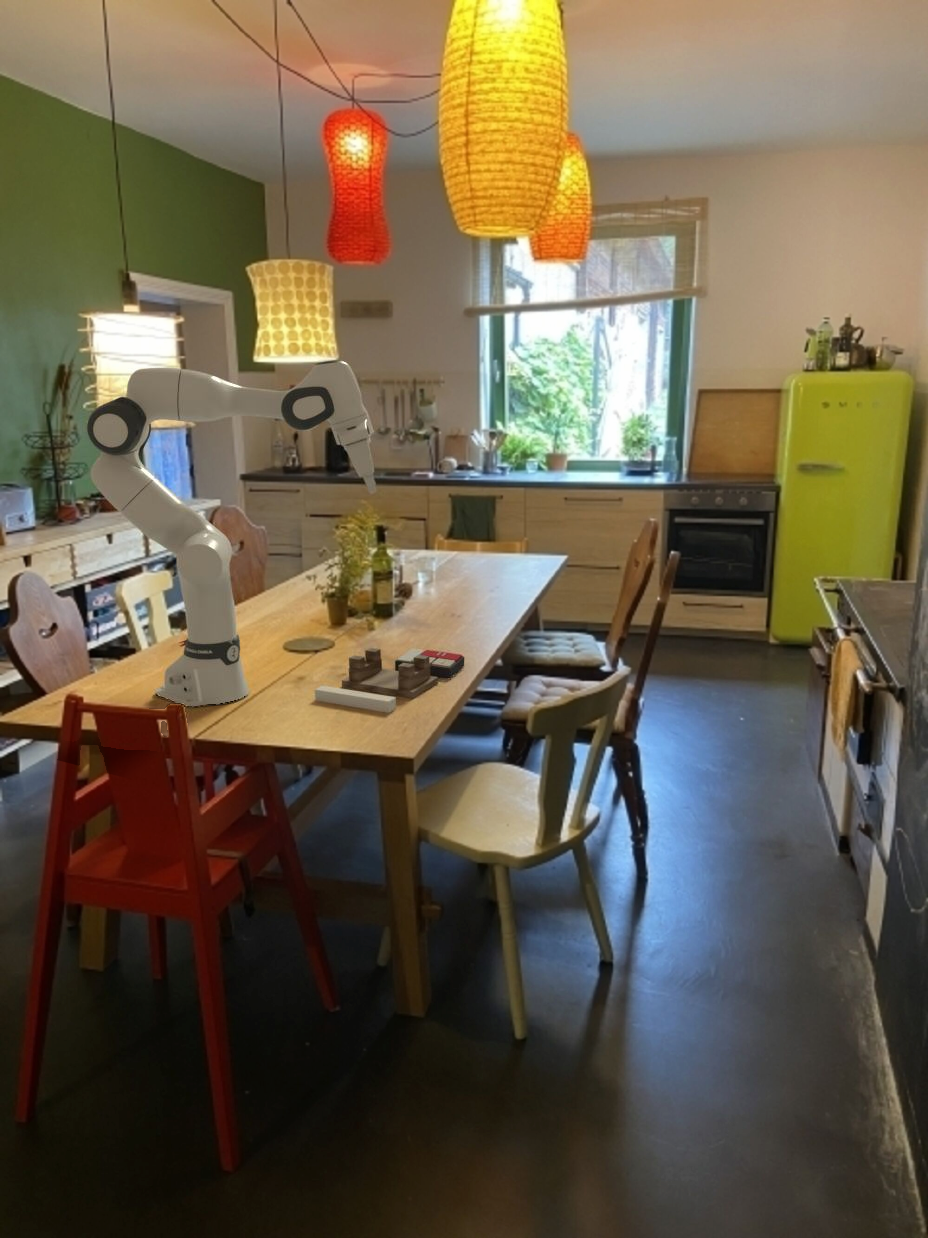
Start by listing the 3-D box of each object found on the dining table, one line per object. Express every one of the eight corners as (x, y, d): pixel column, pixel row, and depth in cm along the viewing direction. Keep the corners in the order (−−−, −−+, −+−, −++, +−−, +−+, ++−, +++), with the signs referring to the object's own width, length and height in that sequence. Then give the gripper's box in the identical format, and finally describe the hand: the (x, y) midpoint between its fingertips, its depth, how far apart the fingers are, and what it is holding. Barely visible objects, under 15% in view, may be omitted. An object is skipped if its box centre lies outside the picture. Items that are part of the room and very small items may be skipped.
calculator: (450, 666, 217) (394, 658, 222) (449, 682, 219) (394, 674, 223) (465, 653, 227) (411, 646, 232) (464, 669, 229) (411, 661, 233)
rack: (342, 686, 214) (340, 658, 212) (369, 672, 224) (368, 645, 223) (412, 698, 205) (411, 669, 203) (438, 683, 215) (437, 655, 214)
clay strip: (315, 701, 205) (314, 689, 204) (323, 697, 208) (322, 685, 207) (389, 714, 196) (388, 701, 196) (396, 709, 199) (395, 697, 198)
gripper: (340, 432, 208) (360, 488, 212) (339, 439, 189) (360, 500, 193) (366, 424, 209) (384, 480, 213) (367, 429, 189) (387, 491, 193)
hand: (373, 490), depth 203 cm, fingers open, 8 cm apart
